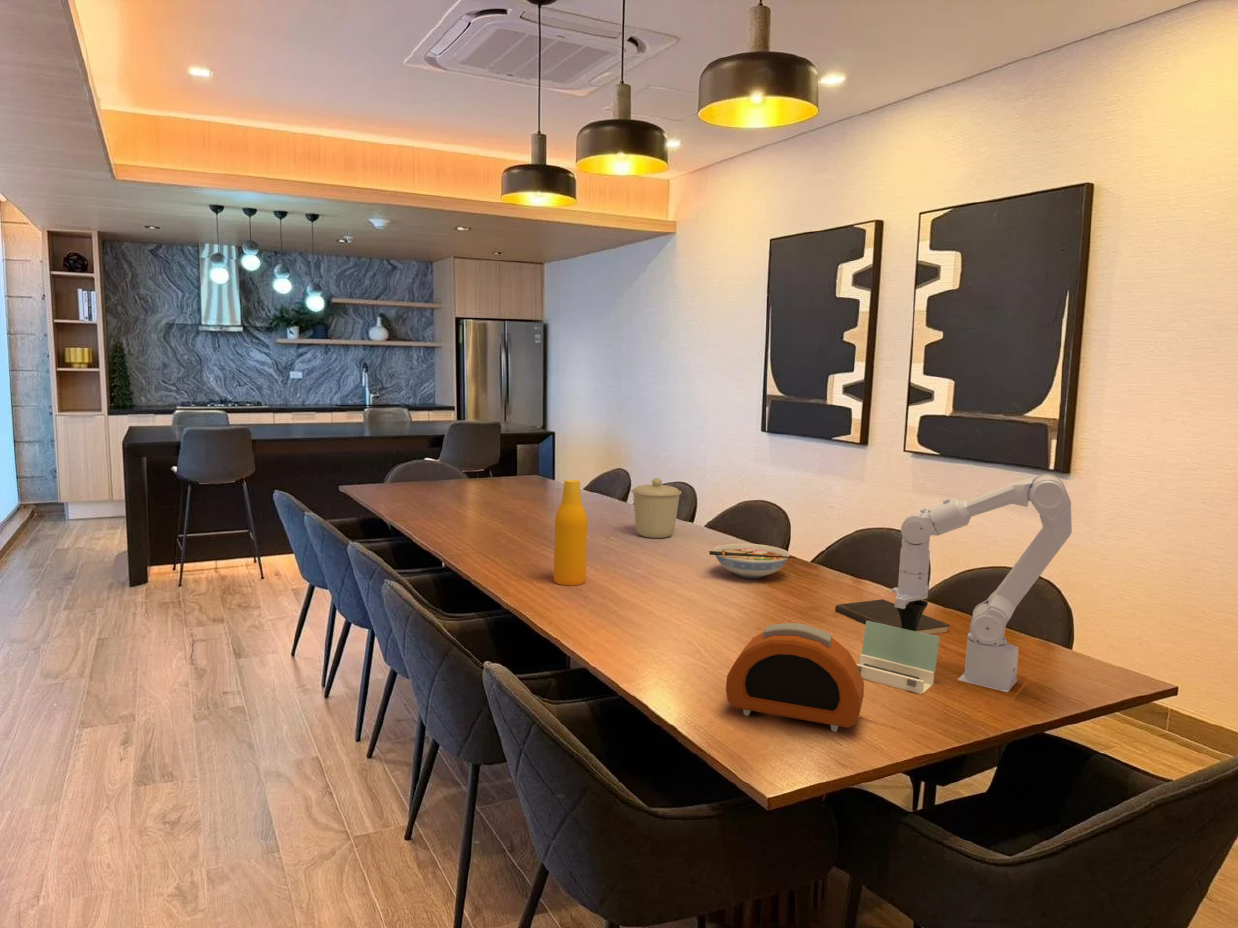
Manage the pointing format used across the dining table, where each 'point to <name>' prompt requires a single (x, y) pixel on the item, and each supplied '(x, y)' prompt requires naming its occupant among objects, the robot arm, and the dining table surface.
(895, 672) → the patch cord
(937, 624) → the hardcover book
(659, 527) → the canister
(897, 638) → the panel
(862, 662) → the cream piece
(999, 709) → the dining table surface
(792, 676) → the alarm clock
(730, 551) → the ramen bowl
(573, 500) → the beer bottle
